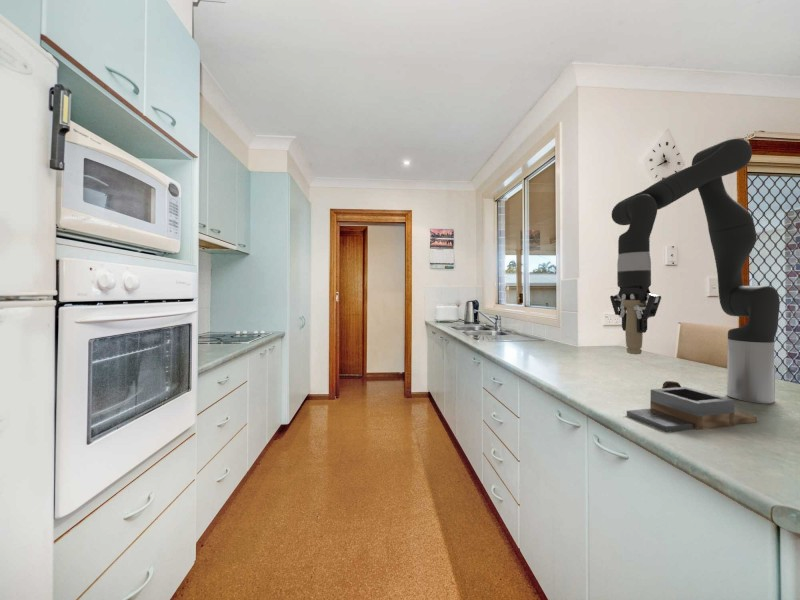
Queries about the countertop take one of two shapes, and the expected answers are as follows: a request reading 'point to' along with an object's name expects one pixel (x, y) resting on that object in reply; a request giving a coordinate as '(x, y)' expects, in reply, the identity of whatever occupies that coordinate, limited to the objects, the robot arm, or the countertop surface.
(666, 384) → the dark brown oblong lump
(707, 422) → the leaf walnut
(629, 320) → the handle
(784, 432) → the countertop surface
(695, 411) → the grey storage bin
